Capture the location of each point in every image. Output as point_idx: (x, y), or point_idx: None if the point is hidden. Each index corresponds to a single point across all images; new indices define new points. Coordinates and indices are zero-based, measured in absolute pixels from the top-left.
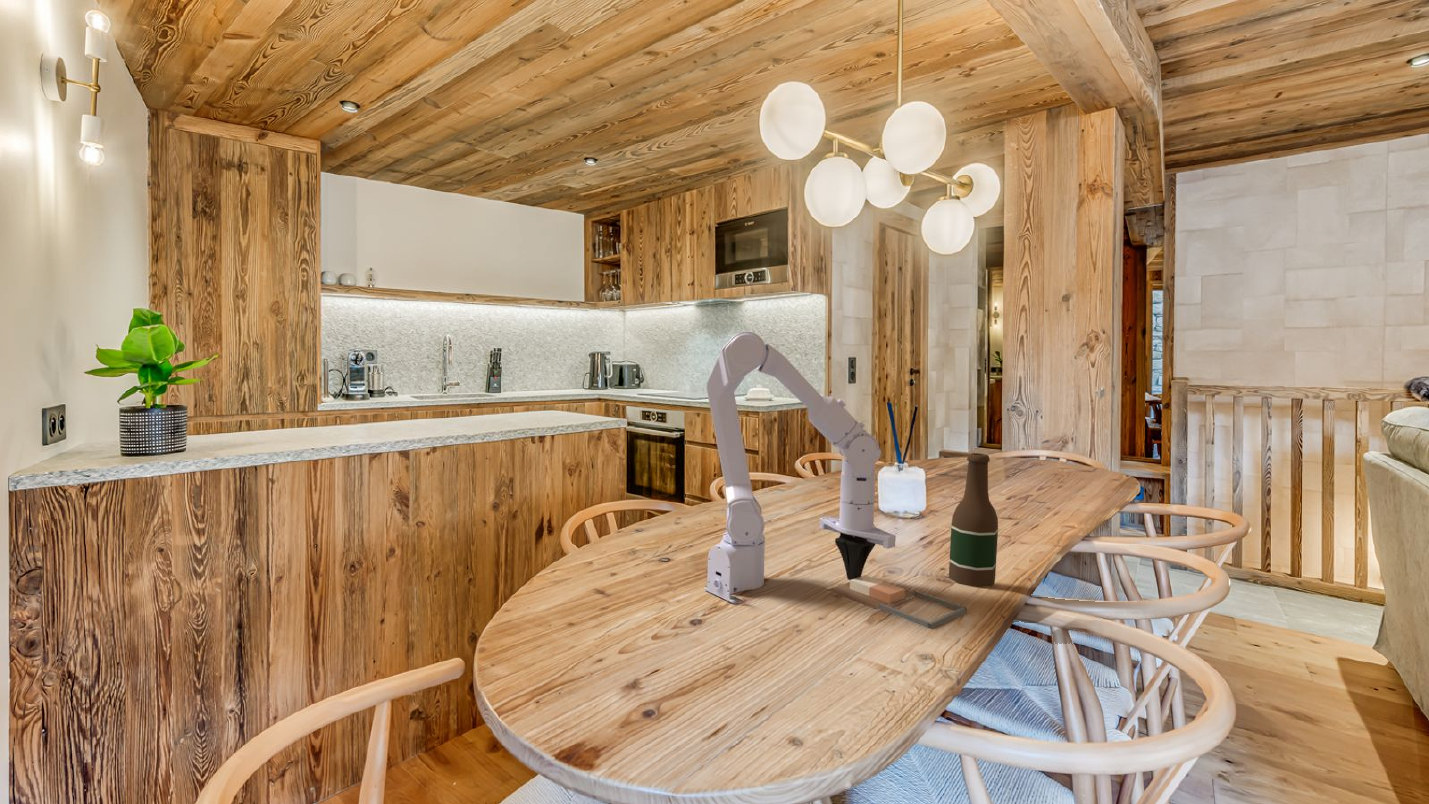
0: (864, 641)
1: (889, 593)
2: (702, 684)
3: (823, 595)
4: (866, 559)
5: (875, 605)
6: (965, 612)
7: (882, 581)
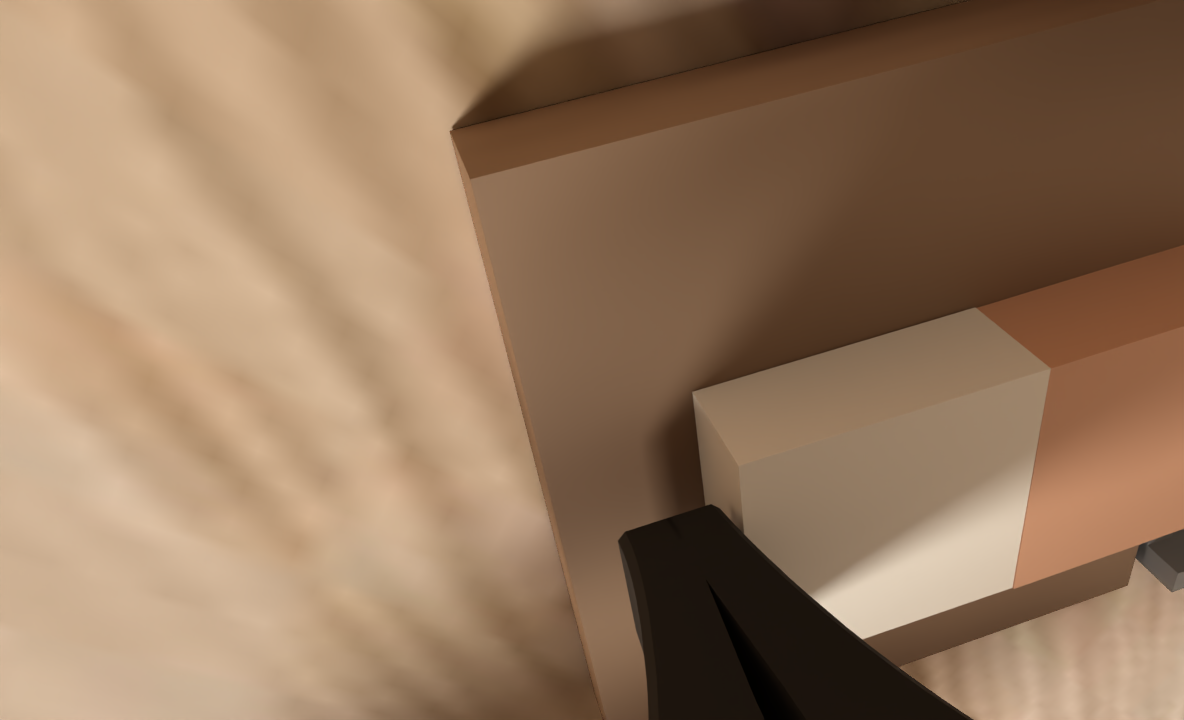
0: (1161, 696)
1: None
2: None
3: (523, 690)
4: (926, 692)
5: (1097, 563)
6: None
7: (1028, 383)
